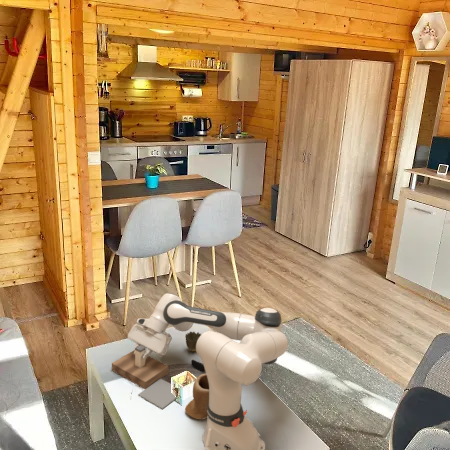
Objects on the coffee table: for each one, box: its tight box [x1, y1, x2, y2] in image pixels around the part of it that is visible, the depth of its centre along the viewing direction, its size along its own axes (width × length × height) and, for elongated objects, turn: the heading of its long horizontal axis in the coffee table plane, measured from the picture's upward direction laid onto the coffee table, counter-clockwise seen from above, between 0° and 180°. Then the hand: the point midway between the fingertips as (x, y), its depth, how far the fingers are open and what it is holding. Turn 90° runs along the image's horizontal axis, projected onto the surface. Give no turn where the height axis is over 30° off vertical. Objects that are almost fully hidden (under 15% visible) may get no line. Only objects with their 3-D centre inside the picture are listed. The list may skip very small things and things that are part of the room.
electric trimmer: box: [190, 359, 206, 373], centre depth 199 cm, size 4×16×3 cm, turn 55°
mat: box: [137, 378, 178, 410], centre depth 184 cm, size 13×13×1 cm
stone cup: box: [184, 373, 209, 420], centre depth 174 cm, size 15×12×15 cm
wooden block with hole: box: [111, 349, 170, 390], centre depth 196 cm, size 20×14×4 cm
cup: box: [185, 331, 202, 353], centre depth 213 cm, size 8×7×8 cm
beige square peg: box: [134, 345, 147, 368], centre depth 195 cm, size 3×3×10 cm
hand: (139, 357), depth 194 cm, fingers closed on beige square peg, 3 cm apart
